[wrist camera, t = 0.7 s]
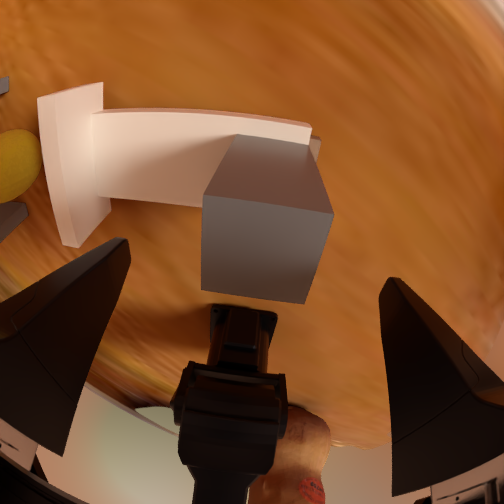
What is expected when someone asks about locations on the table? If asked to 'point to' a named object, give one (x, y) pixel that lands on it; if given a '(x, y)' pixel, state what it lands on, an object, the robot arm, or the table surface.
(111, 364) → the table surface
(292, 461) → the butternut squash
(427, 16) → the table surface
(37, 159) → the lemon
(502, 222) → the table surface
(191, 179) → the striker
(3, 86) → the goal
